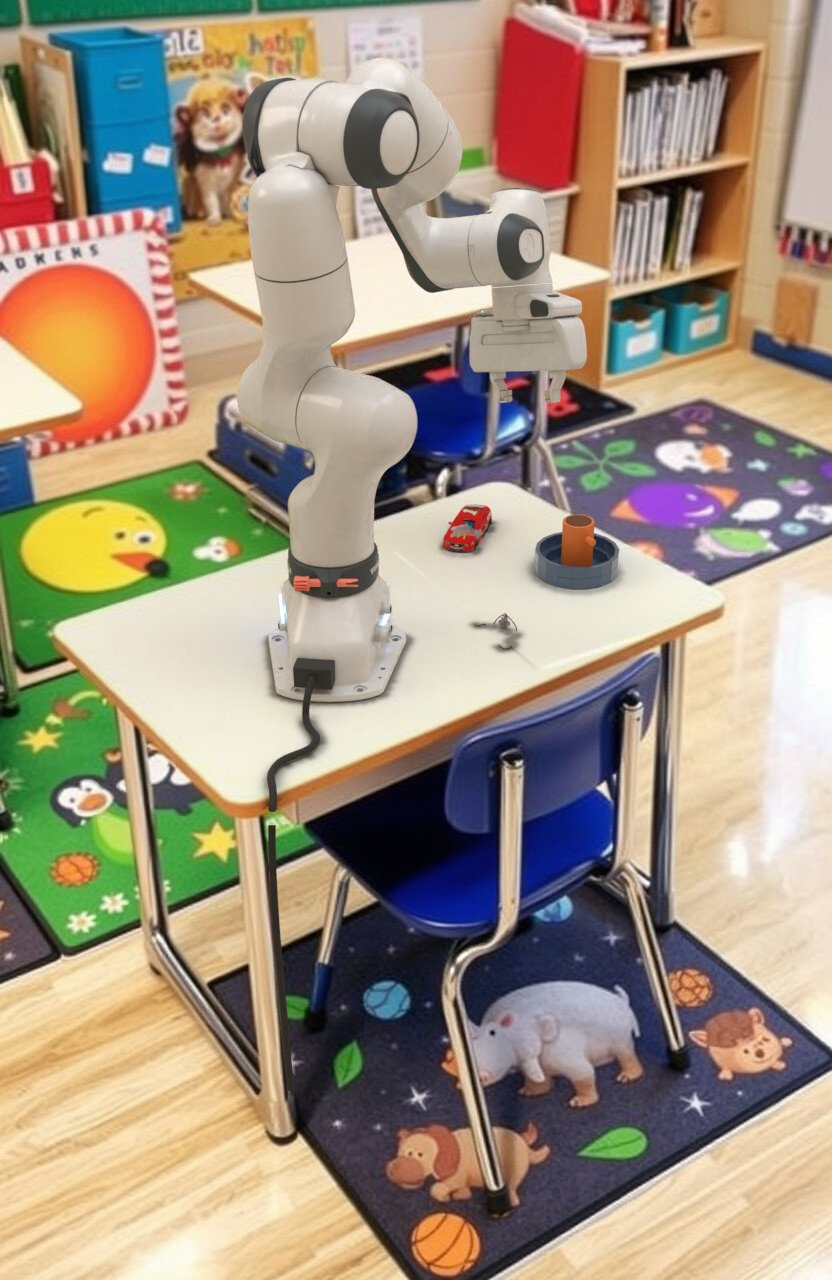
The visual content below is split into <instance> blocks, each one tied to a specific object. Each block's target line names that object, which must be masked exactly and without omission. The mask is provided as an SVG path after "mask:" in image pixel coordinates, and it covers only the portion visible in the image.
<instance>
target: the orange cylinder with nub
mask: <svg viewBox="0 0 832 1280" xmlns="http://www.w3.org/2000/svg"><path fill="white" fill-rule="evenodd" d="M595 522H596V521H595V519H594V518H593V517H592V516H589V515H587V514H580V513H579V514H578V513H577V514H575V513H574V514H570V515H566V516H565V517H563V519H562V529H561V530H562V531H561V532H562V551H561V565H566V566H572V567H588V566H592V560H593V546H594V545H595V544H596V541H595V540H594V533H595Z"/></svg>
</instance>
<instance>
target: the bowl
mask: <svg viewBox="0 0 832 1280" xmlns="http://www.w3.org/2000/svg"><path fill="white" fill-rule="evenodd" d="M594 540H595V541H596V544H595V545H594V546H593V560H592V566H588V567H572V566H566V565H561V551H562V531H560V532H554V533H551V534H549V535H546V536H544V537H542V538H541V539H540V540H539V541H538V542H537V543H536V545H535V549H534V571H535V573H536V576H537V577H538V578H539V579H541V580H542V581H543V582H544V583H547V584H549V585H552V586H554V587H557V588H563V589H569V590H589V589H594V588H600V587H603V586H605V585H608V584H610V583H612V582H613V581H614V580H615V579H616V578H617V577H618V575H619V574H618V572H619V563H620V548H619V546H618V545H617V543H616V542H615V541H613V539H610V538H609V537H607V536H605V535H602V534H599V533H596V532H594Z"/></svg>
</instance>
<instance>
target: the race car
mask: <svg viewBox="0 0 832 1280" xmlns="http://www.w3.org/2000/svg"><path fill="white" fill-rule="evenodd" d="M447 523H448V525H450V526H449V527H448V529H447V531H446V533H444V535H443V539H442V545H443V548H444V549H446V550H447V551H450V552H455V553H470V552H473V551H476V548H477V547H478V546H479V545H480V544H481V542H482V541H483V539H484V537H485V535H486V534H487V532H488V531H489V528H490V527H491V526H492V524H493V515H492V510H491V508H490V507H489V506H488V505H484V504H476V503H469V504H465V505H464V506H463V507H462V508H461V509H460V510H459V512H458V514H457V515H456V516H455V517H454V519H453V520H452V521H448V522H447Z"/></svg>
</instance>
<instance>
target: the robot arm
mask: <svg viewBox="0 0 832 1280" xmlns="http://www.w3.org/2000/svg"><path fill="white" fill-rule="evenodd" d="M241 128H242V129H241V130H242V138H243V144H244V149H245V152H246V154H247V161H248V164H249V166H250V168H251V171H252V172H253V174H254V176H255V180H254V181H253V182H252V184H251V186H250V188H249V191H248V198H247V224H248V225H247V227H248V240H249V248H250V249H249V250H250V256H251V263H252V269H253V275H254V279H255V284H256V290H257V297H258V300H259V302H258V303H259V308H260V314H261V315H260V316H261V323H262V340H261V341H262V342H261V347H260V350H259V354H258V356H257V358H255V359H254V360H253V361H252V362H250V364H249V365H248V366H247V367H246V368H245V370H244V372H243V373H242V375H241V377H240V379H239V382H238V386H237V391H236V402H237V403H236V404H237V409H238V412H239V415H240V417H241V419H242V420H243V422H244V423H245V424H246V425H248V426H249V427H251V428H253V429H254V430H256V431H257V432H259V433H260V434H262V435H264V436H265V437H267V438H269V439H270V440H272V441H275V442H278V443H282V444H285V445H288V446H292V447H295V448H298V449H301V450H304V451H307V452H309V453H311V454H312V456H313V458H314V473H313V474H311V475H310V476H307V477H305V478H304V479H302V480H301V481H300V482H298V483H297V485H296V486H295V487H294V488H293V490H292V491H291V492H290V495H289V496H288V499H287V512H288V513H287V514H288V527H289V528H288V529H289V542H290V543H289V544H290V546H289V547H288V550H287V560H286V561H287V563H286V564H287V570H288V571H287V572H288V578H287V579H286V580H285V581H284V582H283V583H281V584H280V593H278V597H279V609H280V618H281V620H278V623H277V628H276V629H274V630H272V631H271V632H269V634H268V647H269V654H270V660H271V666H272V673H273V681H274V687H275V692H276V694H277V695H280V696H281V697H285V698H288V699H292V700H297V701H302V705H301V706H302V708H301V718H302V723H303V726H304V728H305V730H306V731H307V733H308V734H309V735H310V736H311V738H312V740H311V742H310V743H309V744H307V745H306V746H304V747H301V748H299V749H297V750H294V751H291V752H289V753H286V754H284V755H282V756H280V757H279V758H277V759H276V760H275V761H273V762H272V765H270V767H269V768H268V771H267V773H266V774H267V775H266V781H267V786H268V812H270V813H274V812H276V811H277V809H278V807H277V805H278V789H277V782H276V774H277V772H278V770H279V769H280V768H281V767H282V766H283V765H285V764H286V763H289V762H291V761H293V760H296V759H299V758H301V757H304V756H307V755H309V754H311V753H312V752H313V751H315V750H316V748H317V747H318V746H319V744H320V742H321V735H320V733H319V731H318V730H316V728H315V727H314V726H313V725H312V722H311V717H310V709H311V708H310V707H311V702H315V703H317V702H320V703H339V702H353V701H361V700H367V699H371V698H374V697H377V696H380V695H382V694H383V693H384V691H385V689H386V687H387V686H388V683H389V681H390V678H391V676H392V674H393V672H394V670H395V668H396V665H397V663H398V660H399V659H400V656H401V654H402V653H403V650H404V647H405V645H406V643H407V635H406V633H405V632H404V631H403V630H401V629H399V628H397V627H394V626H393V625H394V624H393V612H392V611H393V610H392V609H393V607H392V594H391V593H392V592H391V585H390V584H389V583H388V582H387V581H386V580H384V579H383V578H382V577H381V575H379V572H380V568H379V567H380V554H379V551H378V545H377V543H376V542H375V499H376V494H377V488H378V486H379V483H380V481H381V479H382V477H383V475H384V474H385V472H387V470H388V469H390V468H391V467H393V466H394V465H397V464H398V463H399V462H400V461H401V460H402V459H404V458H405V457H406V455H407V454H408V453H409V451H410V449H411V448H412V446H413V444H414V443H415V439H416V436H417V433H418V425H419V423H418V413H417V412H418V411H417V409H416V405H415V403H414V400H413V399H412V398H411V396H410V395H409V394H408V393H406V392H405V391H403V390H401V389H400V388H398V387H396V386H395V385H393V384H391V383H389V382H387V381H386V380H383V379H381V378H380V377H376V376H373V375H368V374H366V373H365V374H364V373H361V372H357V371H353V370H350V369H345V368H342V367H339V366H337V365H336V363H335V362H334V360H333V358H332V351H331V350H332V345H333V344H335V343H337V342H338V341H340V340H341V339H343V337H344V336H345V335H347V333H348V331H349V330H350V328H351V327H352V325H353V323H354V320H355V316H356V305H355V299H354V292H353V285H352V277H351V271H350V266H349V258H348V251H347V247H346V241H345V236H344V232H343V227H342V222H341V219H340V216H339V212H338V209H337V202H338V196H339V191H340V187H360V188H362V189H368V190H371V194H372V197H373V200H374V202H375V205H376V207H377V209H378V211H379V213H380V215H381V216H382V219H383V220H384V223H385V224H386V226H387V228H388V229H389V231H390V234H391V235H392V237H393V239H394V240H395V242H396V244H397V246H398V248H399V249H400V252H401V253H402V256H403V260H404V264H405V266H406V270H407V272H408V274H409V276H410V278H411V279H412V280H413V282H415V284H416V285H417V286H419V287H420V288H421V289H422V290H424V292H427V293H429V294H430V293H431V294H434V293H440V292H447V291H451V290H454V289H455V290H456V289H465V288H477V287H487V286H490V287H491V301H492V303H491V304H492V308H488V309H486V308H481V309H478V310H477V311H476V313H474V314H473V316H472V318H471V321H470V326H471V327H470V328H471V330H470V335H469V366H470V368H471V369H472V371H473V372H474V373H489V380H490V382H491V384H492V386H493V388H494V389H495V391H496V400H497V403H499V404H506V403H512V402H513V389H508V386H507V384H506V382H505V379H507V373H509V372H542V371H543V372H548V377H549V379H550V380H551V382H550V386H549V388H548V389H546V390H544V396H545V398H544V401H545V403H547V404H549V403H551V404H555V403H560V402H561V400H562V397H561V395H562V394H561V390H562V388H563V385H564V384H565V381H566V378H567V371H575V370H580V369H583V367H584V366H585V364H586V362H587V359H588V353H587V352H588V350H587V349H588V348H587V347H588V346H587V336H586V335H587V334H586V329H585V325H584V322H583V320H582V319H581V318H580V317H578V316H579V315H581V314H582V313H583V302H582V301H581V300H580V299H578V298H575V297H572V296H569V295H567V294H564V293H561V292H558V291H556V290H554V287H553V278H552V275H551V272H550V258H551V253H552V251H551V249H552V248H551V237H550V236H551V235H550V227H549V220H548V212H547V207H546V204H545V200H544V197H543V194H541V193H540V192H538V191H536V190H535V189H532V188H527V187H525V188H521V187H509V188H503V189H499V190H497V191H495V192H493V193H492V194H491V195H490V200H489V209H488V210H486V211H485V212H484V213H481V214H475V215H474V214H473V215H466V216H465V215H464V216H455V217H433V216H430V215H428V214H427V213H426V210H425V208H424V207H423V204H424V203H427V202H429V201H432V200H434V199H436V198H437V197H439V196H440V195H441V194H442V193H443V192H444V191H446V189H447V188H448V187H449V186H450V185H451V184H452V182H453V181H454V179H455V178H456V176H457V174H458V172H459V169H460V167H461V164H462V158H463V149H464V148H463V140H462V136H461V134H460V130H459V129H458V126H457V125H456V123H455V121H454V119H453V118H452V117H451V115H450V114H449V112H448V111H447V109H446V108H445V107H444V105H443V104H442V103H441V101H440V99H438V97H437V96H436V95H435V94H434V92H433V91H432V90H431V89H430V88H429V87H428V86H427V84H425V83H424V81H423V80H422V79H421V78H420V77H418V76H417V74H415V72H413V71H412V70H410V68H409V67H407V66H405V65H404V64H403V63H402V62H400V61H399V60H397V59H394V58H391V57H375V58H371V59H369V60H367V61H365V62H363V63H362V64H359V66H357V67H355V69H354V70H352V72H351V73H350V74H349V75H348V77H347V79H346V80H345V82H344V83H343V82H339V81H337V80H332V79H321V78H319V79H312V78H311V79H310V78H308V79H296V78H293V77H280V78H279V77H278V78H275V79H270V80H267V81H264V82H263V83H260V84H258V85H257V86H256V87H255V88H254V89H253V90H252V91H251V93H250V94H249V96H248V99H247V101H246V103H245V106H244V109H243V113H242V119H241ZM276 832H277V824H268V825H267V852H268V853H267V855H268V879H269V896H270V897H269V898H270V911H271V922H272V923H271V925H272V926H271V927H272V937H273V950H274V951H273V952H274V960H275V961H274V962H275V972H276V982H277V993H278V1003H279V1014H280V1023H281V1033H282V1035H281V1036H282V1046H283V1056H284V1057H283V1058H284V1067H285V1079H286V1081H285V1082H286V1090H287V1091H288V1092H292V1091H294V1090H295V1084H294V1083H295V1082H294V1071H293V1059H292V1049H291V1037H290V1025H289V1016H288V1006H287V1005H288V1004H287V994H286V993H287V992H286V984H285V972H284V961H283V950H282V939H281V938H282V937H281V925H280V924H281V923H280V909H279V893H278V874H277V873H278V872H277V833H276Z"/></svg>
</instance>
